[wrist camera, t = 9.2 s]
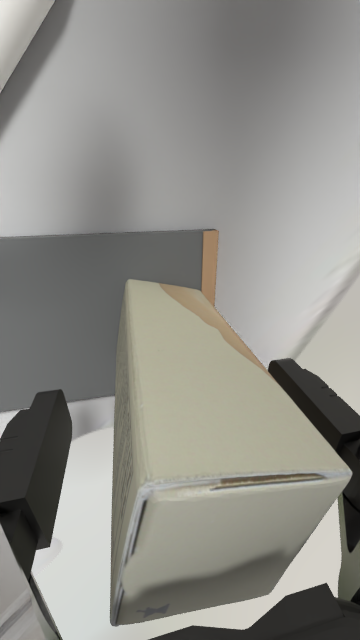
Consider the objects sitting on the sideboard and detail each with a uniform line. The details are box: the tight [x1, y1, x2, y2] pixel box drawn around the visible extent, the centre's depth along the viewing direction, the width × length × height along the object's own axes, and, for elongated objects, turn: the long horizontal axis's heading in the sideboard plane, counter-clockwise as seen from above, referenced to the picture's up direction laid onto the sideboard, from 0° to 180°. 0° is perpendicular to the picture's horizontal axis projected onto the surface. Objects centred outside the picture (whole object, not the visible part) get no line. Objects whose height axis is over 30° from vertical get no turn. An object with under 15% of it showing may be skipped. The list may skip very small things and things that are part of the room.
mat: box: [0, 229, 219, 412], centre depth 14 cm, size 10×16×1 cm, turn 90°
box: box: [110, 279, 353, 626], centre depth 10 cm, size 5×4×11 cm
